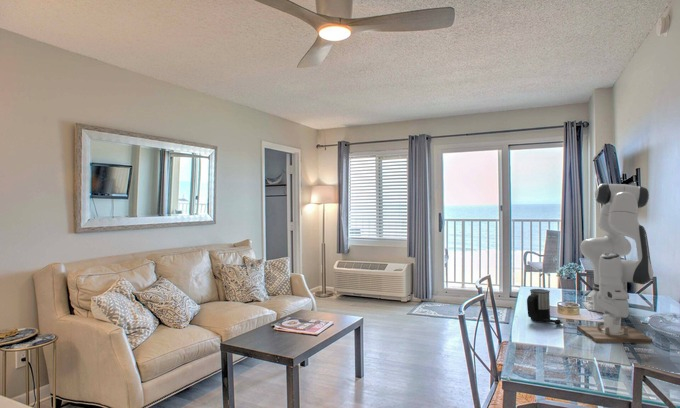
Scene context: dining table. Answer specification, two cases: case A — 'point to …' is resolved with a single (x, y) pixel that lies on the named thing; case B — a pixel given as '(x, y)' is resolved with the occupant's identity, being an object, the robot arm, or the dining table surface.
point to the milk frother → (540, 306)
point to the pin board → (614, 334)
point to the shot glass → (611, 323)
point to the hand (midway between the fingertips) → (612, 322)
